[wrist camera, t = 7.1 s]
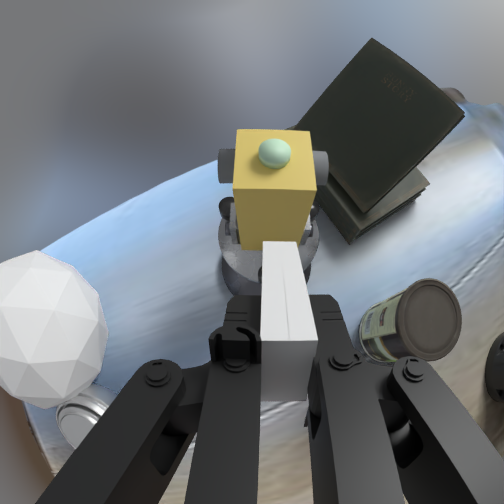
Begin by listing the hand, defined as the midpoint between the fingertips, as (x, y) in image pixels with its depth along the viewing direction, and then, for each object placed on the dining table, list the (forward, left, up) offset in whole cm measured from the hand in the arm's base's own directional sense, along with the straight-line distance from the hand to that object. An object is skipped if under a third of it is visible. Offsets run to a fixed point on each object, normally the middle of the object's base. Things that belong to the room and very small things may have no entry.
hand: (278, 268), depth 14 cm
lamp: (-9, +30, -32) cm, 45 cm away
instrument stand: (+10, 0, -31) cm, 33 cm away
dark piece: (+29, -16, -32) cm, 46 cm away
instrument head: (+10, 0, -17) cm, 20 cm away
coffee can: (-1, -20, -32) cm, 38 cm away
